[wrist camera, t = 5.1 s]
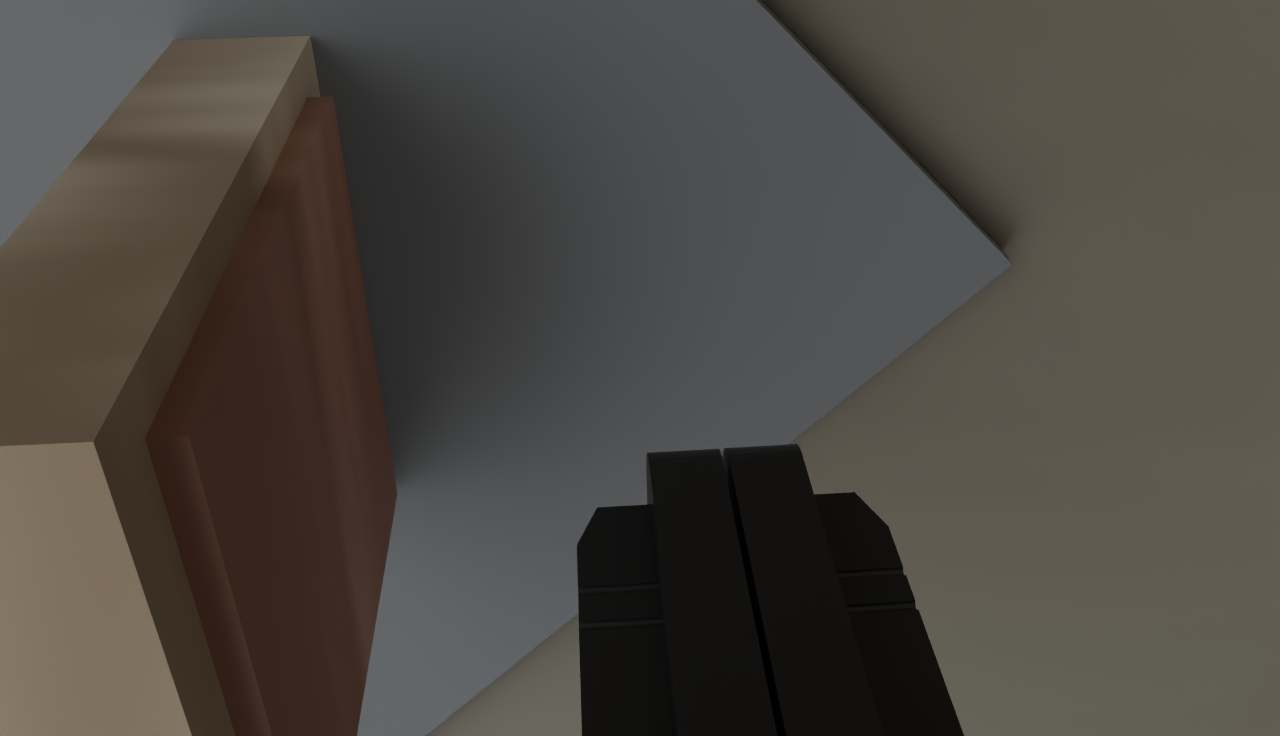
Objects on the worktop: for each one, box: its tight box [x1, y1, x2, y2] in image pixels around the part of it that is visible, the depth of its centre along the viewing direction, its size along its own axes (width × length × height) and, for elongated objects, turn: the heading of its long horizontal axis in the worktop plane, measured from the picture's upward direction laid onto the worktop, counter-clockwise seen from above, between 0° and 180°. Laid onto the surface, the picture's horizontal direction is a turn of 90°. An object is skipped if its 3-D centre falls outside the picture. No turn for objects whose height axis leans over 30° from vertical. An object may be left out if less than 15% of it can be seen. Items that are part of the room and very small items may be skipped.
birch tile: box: [0, 36, 397, 736], centre depth 13 cm, size 2×7×8 cm, turn 1°
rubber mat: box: [0, 0, 1013, 736], centre depth 15 cm, size 20×15×1 cm
